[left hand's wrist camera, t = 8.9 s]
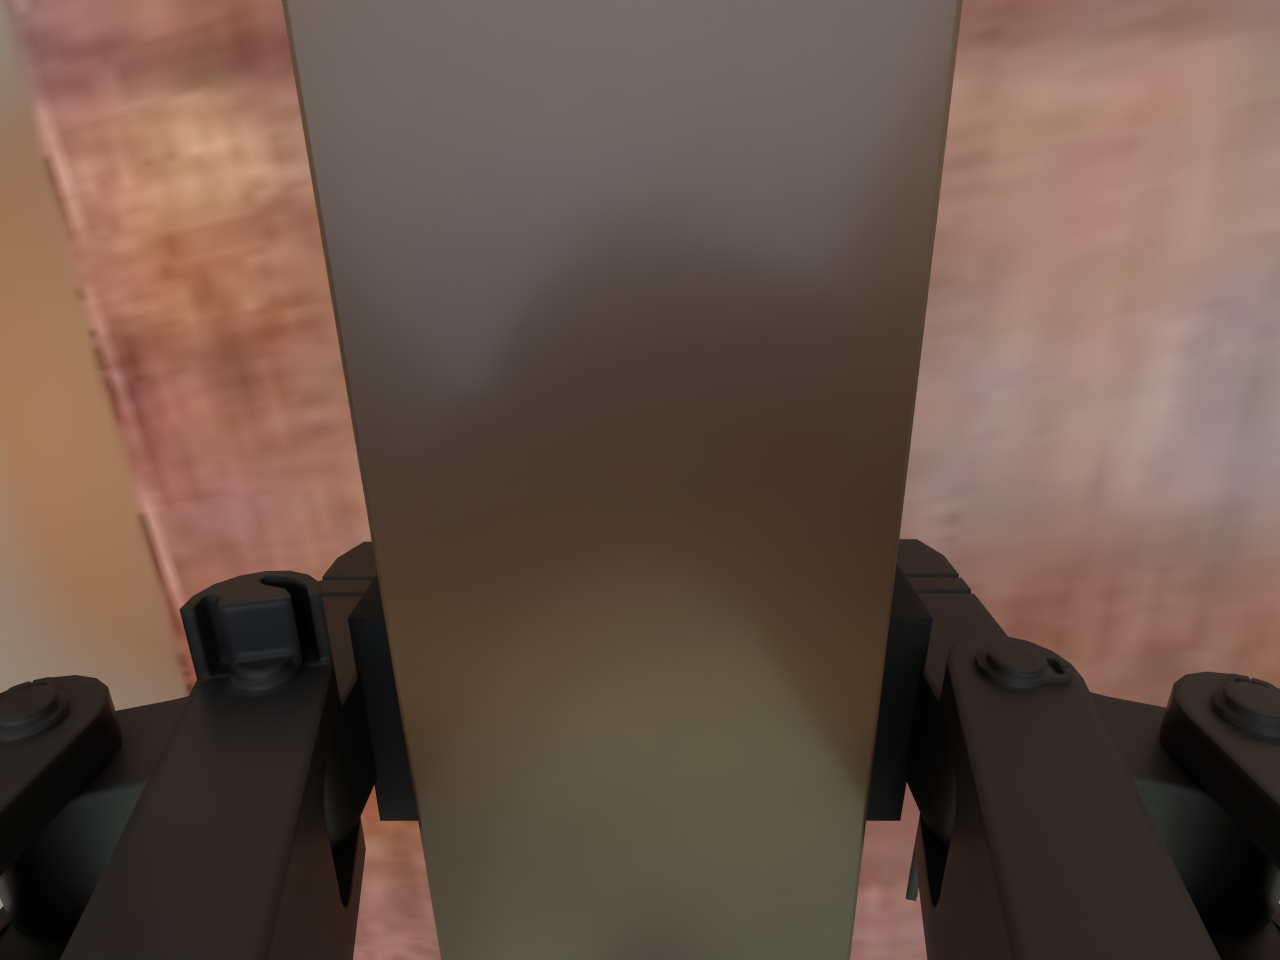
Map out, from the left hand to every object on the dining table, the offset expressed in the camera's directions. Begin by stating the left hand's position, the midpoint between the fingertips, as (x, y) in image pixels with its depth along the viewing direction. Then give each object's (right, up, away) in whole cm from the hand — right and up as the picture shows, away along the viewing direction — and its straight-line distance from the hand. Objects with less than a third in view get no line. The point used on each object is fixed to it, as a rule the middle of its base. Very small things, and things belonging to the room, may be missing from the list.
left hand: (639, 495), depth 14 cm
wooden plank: (0, -20, +9) cm, 22 cm away
